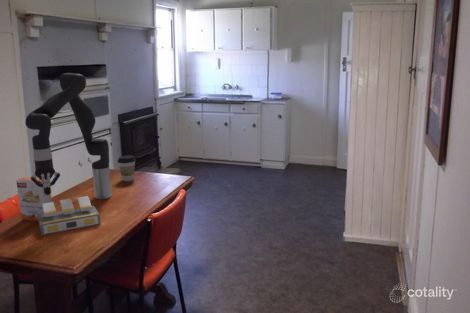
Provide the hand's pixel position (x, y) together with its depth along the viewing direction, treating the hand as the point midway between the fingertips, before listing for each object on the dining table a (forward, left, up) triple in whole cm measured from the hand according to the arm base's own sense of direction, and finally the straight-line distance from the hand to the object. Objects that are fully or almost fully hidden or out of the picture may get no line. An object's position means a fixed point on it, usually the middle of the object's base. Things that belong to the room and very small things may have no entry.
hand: (47, 194), depth 208 cm
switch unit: (-2, +8, -17) cm, 19 cm away
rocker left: (-4, 0, -9) cm, 10 cm away
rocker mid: (-4, +8, -8) cm, 12 cm away
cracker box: (-18, -5, -17) cm, 25 cm away
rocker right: (-4, +16, -9) cm, 19 cm away
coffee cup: (-64, +52, -17) cm, 84 cm away
